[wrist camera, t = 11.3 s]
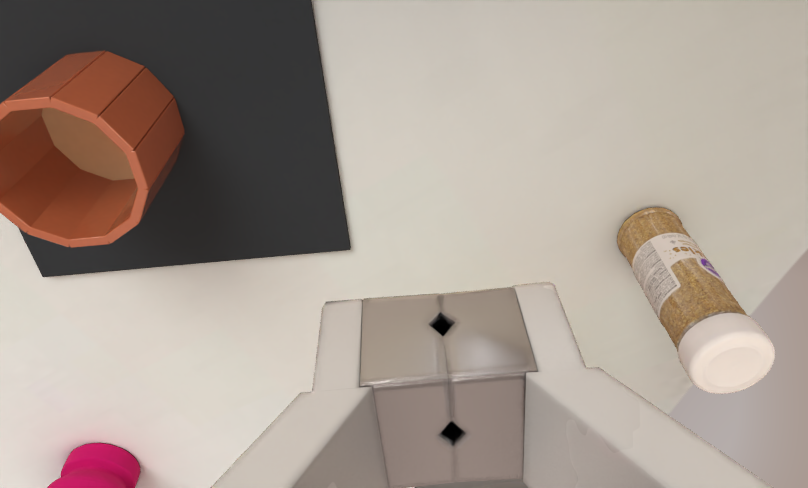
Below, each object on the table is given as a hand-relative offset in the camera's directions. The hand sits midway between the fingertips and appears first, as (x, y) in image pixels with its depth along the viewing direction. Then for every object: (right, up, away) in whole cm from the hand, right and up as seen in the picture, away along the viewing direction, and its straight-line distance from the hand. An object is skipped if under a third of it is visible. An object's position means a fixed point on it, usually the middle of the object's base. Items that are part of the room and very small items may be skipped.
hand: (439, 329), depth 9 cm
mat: (-16, +9, +31) cm, 36 cm away
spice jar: (+17, +2, +37) cm, 40 cm away
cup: (-14, +7, +27) cm, 31 cm away
